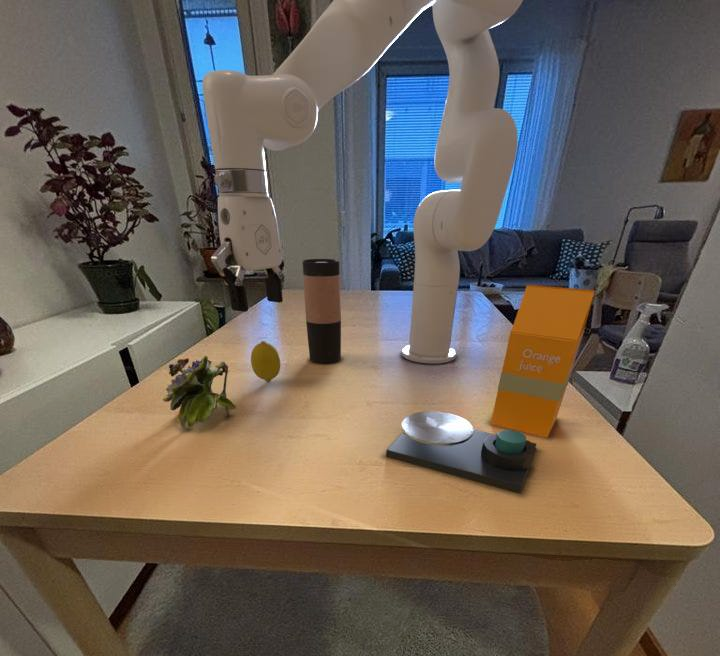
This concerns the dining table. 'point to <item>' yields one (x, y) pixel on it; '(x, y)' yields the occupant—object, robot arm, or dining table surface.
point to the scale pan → (437, 428)
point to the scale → (469, 459)
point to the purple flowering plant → (196, 390)
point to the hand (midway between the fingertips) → (258, 305)
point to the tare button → (510, 441)
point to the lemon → (265, 361)
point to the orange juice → (540, 357)
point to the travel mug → (323, 309)
